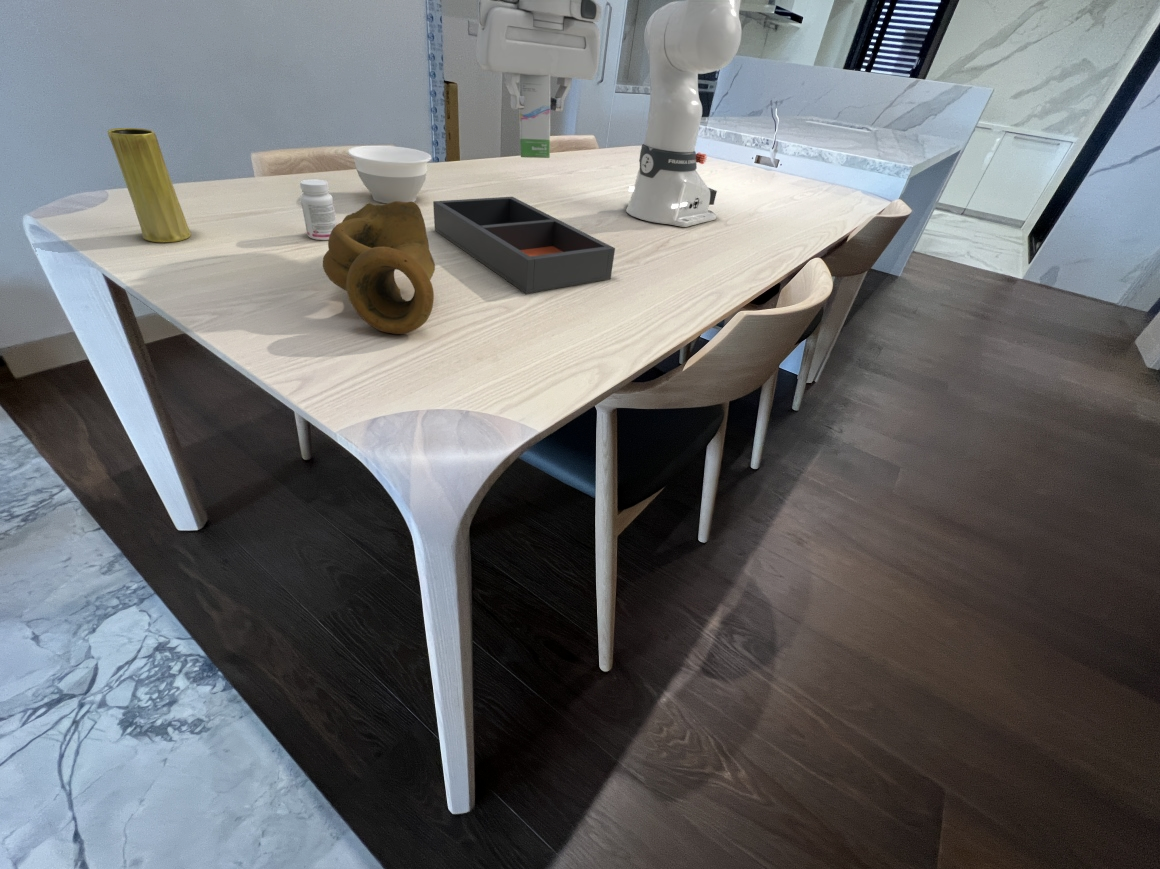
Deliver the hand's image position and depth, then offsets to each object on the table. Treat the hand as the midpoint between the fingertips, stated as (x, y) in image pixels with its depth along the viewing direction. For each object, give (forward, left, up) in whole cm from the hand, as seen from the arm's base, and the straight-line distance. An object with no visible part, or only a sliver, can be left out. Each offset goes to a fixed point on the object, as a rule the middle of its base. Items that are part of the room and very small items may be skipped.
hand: (537, 109), depth 85 cm
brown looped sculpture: (+32, +13, -21) cm, 41 cm away
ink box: (-1, -1, -7) cm, 7 cm away
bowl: (+12, -34, -21) cm, 42 cm away
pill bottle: (+32, -14, -21) cm, 41 cm away
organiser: (+5, +4, -21) cm, 22 cm away
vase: (+53, -20, -21) cm, 61 cm away
